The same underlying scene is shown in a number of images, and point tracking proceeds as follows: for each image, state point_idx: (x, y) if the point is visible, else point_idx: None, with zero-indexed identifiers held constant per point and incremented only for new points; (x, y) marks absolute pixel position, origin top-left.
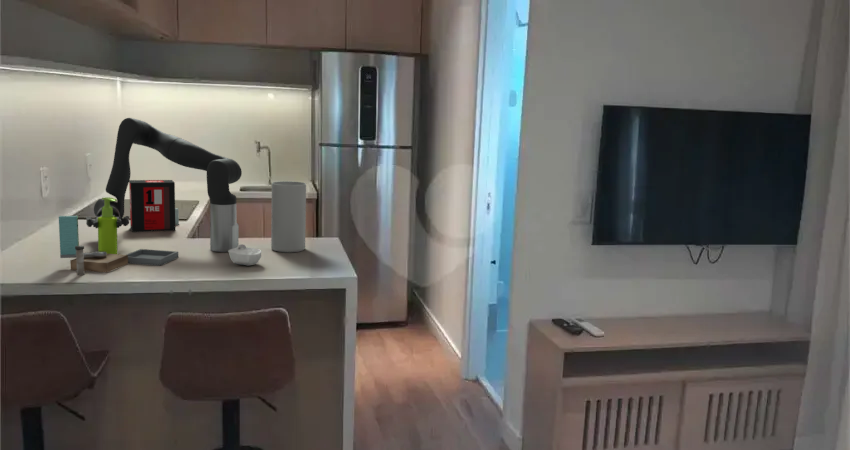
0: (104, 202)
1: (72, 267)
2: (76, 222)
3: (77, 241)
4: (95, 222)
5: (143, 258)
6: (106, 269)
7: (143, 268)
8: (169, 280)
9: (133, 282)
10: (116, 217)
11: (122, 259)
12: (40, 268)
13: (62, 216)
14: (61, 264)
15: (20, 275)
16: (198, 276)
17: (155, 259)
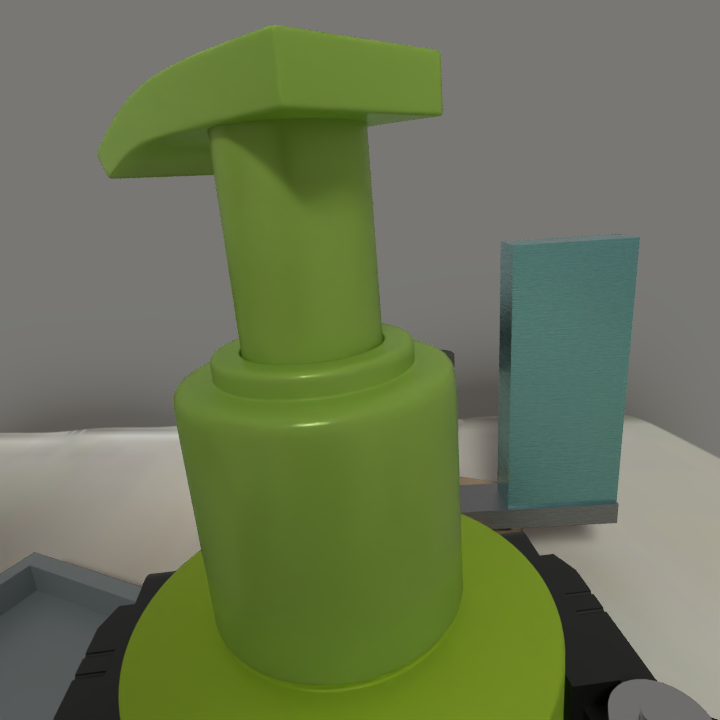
0: (369, 215)
1: None
2: (502, 282)
3: (499, 408)
4: (517, 533)
5: (115, 579)
6: None
7: (156, 546)
8: (130, 435)
9: None
10: (134, 643)
11: None
12: (717, 560)
13: (601, 236)
14: (669, 641)
15: (691, 474)
16: (10, 460)
17: (57, 560)
